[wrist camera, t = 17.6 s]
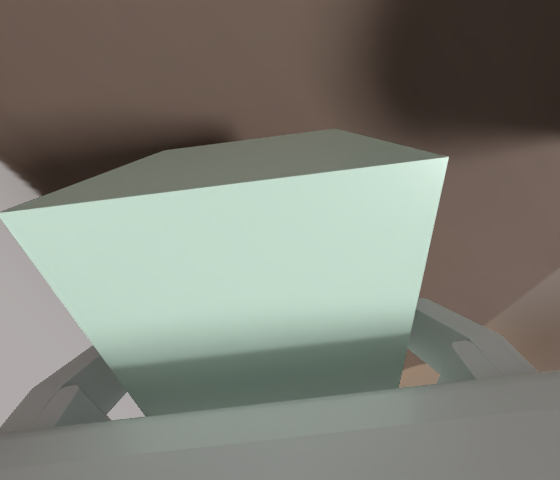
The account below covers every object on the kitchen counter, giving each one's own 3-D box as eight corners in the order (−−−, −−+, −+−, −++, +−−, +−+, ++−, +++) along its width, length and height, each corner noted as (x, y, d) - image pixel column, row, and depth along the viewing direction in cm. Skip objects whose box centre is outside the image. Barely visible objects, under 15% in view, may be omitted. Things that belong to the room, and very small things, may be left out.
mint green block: (164, 150, 10) (-4, 213, 4) (335, 128, 10) (448, 156, 4) (222, 327, 15) (190, 477, 9) (335, 314, 15) (383, 456, 9)
